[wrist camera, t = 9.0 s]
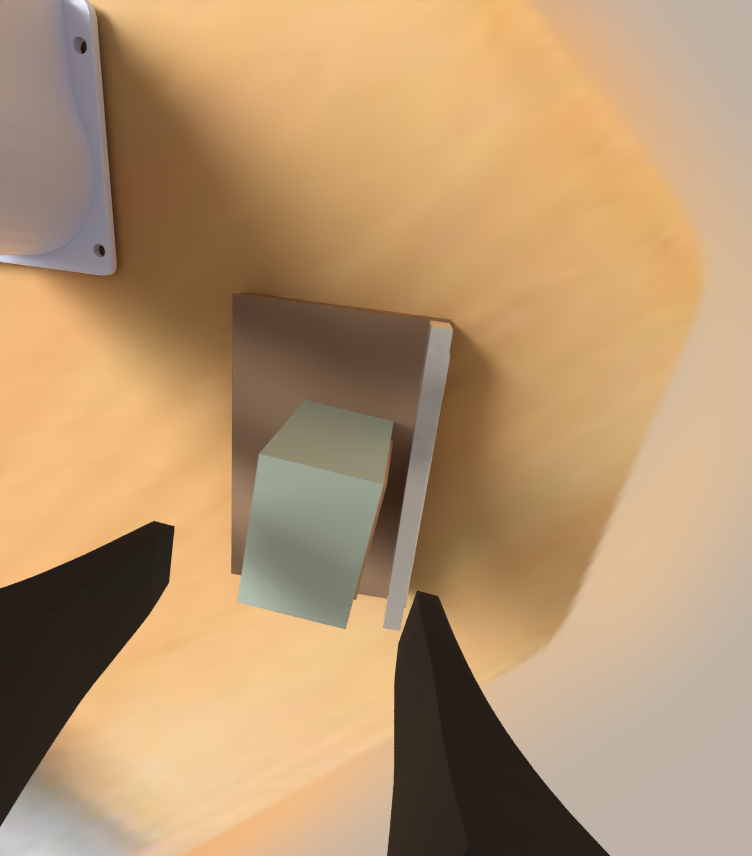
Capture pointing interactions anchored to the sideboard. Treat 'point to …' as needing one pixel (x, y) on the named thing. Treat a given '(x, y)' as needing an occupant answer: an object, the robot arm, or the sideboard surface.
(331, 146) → the sideboard surface
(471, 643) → the sideboard surface
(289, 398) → the shelf board
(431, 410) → the rail
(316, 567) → the product carton
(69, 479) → the sideboard surface
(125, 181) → the sideboard surface
